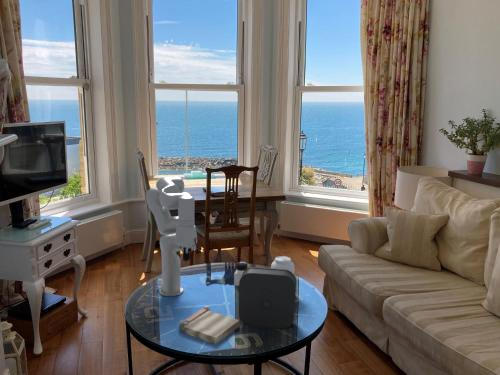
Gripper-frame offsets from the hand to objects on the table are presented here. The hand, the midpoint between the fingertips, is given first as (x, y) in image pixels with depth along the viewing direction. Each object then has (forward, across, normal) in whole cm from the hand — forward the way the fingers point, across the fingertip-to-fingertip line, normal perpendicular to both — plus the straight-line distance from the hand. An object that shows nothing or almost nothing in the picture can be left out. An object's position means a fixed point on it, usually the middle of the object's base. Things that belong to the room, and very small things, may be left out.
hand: (186, 260), depth 207 cm
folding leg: (+25, +11, -5) cm, 28 cm away
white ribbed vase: (+25, +30, +42) cm, 57 cm away
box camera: (+25, +5, +42) cm, 49 cm away
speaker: (+25, +39, +9) cm, 47 cm away
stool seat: (+25, +20, -9) cm, 33 cm away
